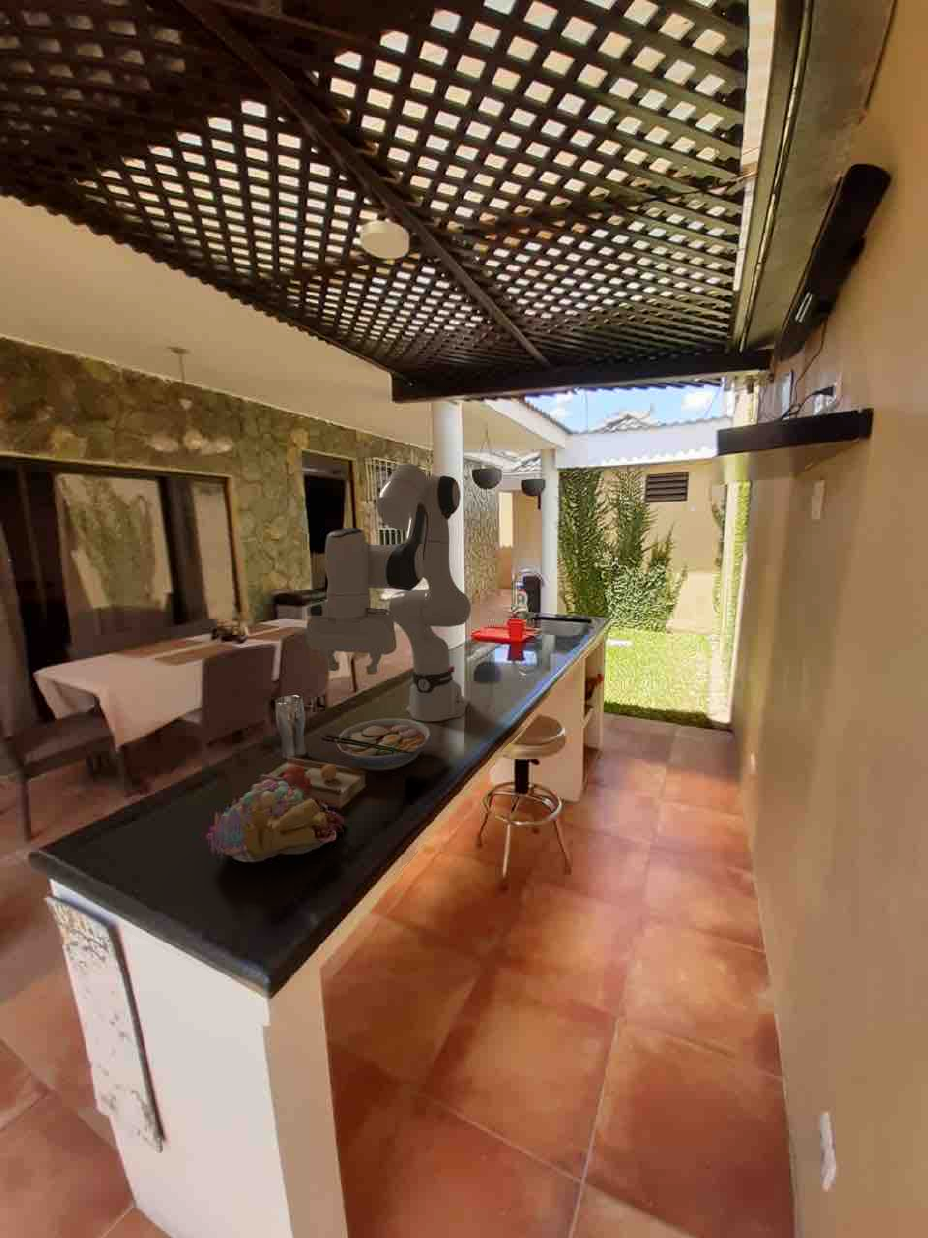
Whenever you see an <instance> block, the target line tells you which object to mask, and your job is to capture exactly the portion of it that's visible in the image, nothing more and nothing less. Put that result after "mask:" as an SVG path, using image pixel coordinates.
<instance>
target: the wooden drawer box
mask: <svg viewBox="0 0 928 1238" xmlns="http://www.w3.org/2000/svg"><path fill="white" fill-rule="evenodd" d="M295 764H297V765H300V766H302V767H303V769H304V771H305V776H307V777H309V778H310V781H311V782H310V785H309V788H310V789H311V794H310V795H306V794H304V789H300V788H299V787H298V786H297V785H292V786H291V787H290V788H291V790H296V789H297V790H299V791H300V792H302V794H303V796H306V797H308V798H309V796H311V798H316V799H319V800H320V801H321V802H324V804H325V805H327V806H328V807H330V808H335V809H340V810H341V809H342V808H343V807H344V806H345V805H346V804H348V802H350V801H351V799H353V798H354V797H355V796H356V795H358V793H360V792H361V791H362V790H363V789H364V788H365V787H366V778H365V776H366V775H365V769H361V768H356V767H351V766H344V765H338V764H334V763H333V764H332V763H330V764H331V765H334V766H335V767H336V769H337V774H336V777H335V778H334V779H333V780H331V781H325V780H324V779H322V777H321V774H320V772H321V769H322V768H323V767H324V766H325V765H327V764H329V762H328V763H327V762H322V761H321V762H320V761H315V760H311V759H304V758H294V757H288V758H287V759H286V762H285V763H284V764H282V765H280V766H279V767H278V768H276V769H274V770H273V771H271V772H270V773H268V774H266V773H261V774H259V779H260V780H259V781H260V782H259V783H260V784H261V783H262V782H263V781H265V780H267V779H271V780H273V781H274V782H277V783H278V782H280V781H281V778H282V777H283V776H284V775H285V771H286V770H287V768H288V767H290V766H291V765H295Z"/></svg>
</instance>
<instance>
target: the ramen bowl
mask: <svg viewBox="0 0 928 1238" xmlns="http://www.w3.org/2000/svg"><path fill="white" fill-rule="evenodd" d="M430 737H431V732H430V727H428V726H426V725H425V724H424V723H422V722H420V721H418V720H417V721H416V720H412V719H408V718H394V717H393V718H392V717H391V718H380V719H377V718H376V719H374V720H372V719H371V720H367V721H364V722H361V723H358V724H357V723H356V724H354V725H353V726H351V727H348V728H346V729H345V730H344V731H342V732H341V733H340V734H339V735H335V734H329V733H326V736H322V737H321V738H320V739H321V741H324V742H332V743H336V744H335V745H336V747H338V750H339V751H340V752H341V753H342V754H343V755H344V756H345V758H346V759H347V760H348V761H349V762H350V763H351V764H353V765H355V766H357V767H360V768H363V769H364V770H369V771H388V770H393V769H398V768H400V767H403V766H405V765H407V764H408V763H410V762H412V761H413V760H416V758H418V756H419V755H420V754H421V752H422V751H423V749H424V748H425V747H426V744H427V742H428V741H429V739H430Z"/></svg>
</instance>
